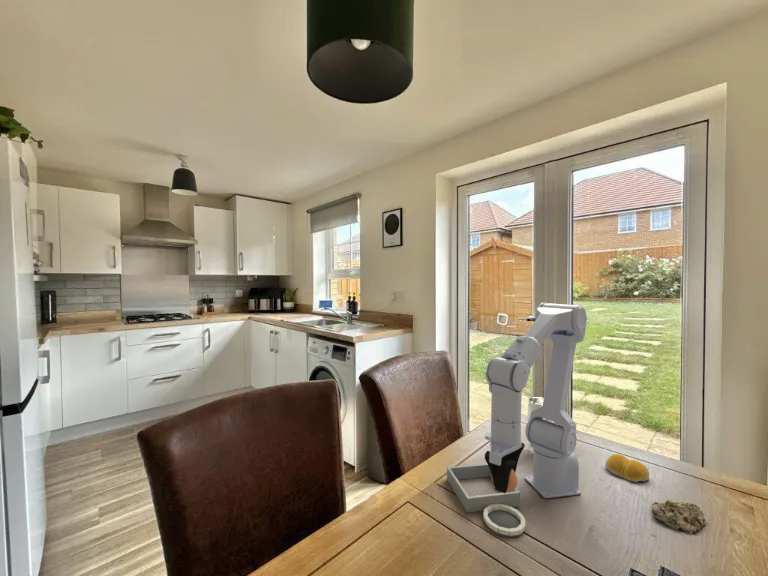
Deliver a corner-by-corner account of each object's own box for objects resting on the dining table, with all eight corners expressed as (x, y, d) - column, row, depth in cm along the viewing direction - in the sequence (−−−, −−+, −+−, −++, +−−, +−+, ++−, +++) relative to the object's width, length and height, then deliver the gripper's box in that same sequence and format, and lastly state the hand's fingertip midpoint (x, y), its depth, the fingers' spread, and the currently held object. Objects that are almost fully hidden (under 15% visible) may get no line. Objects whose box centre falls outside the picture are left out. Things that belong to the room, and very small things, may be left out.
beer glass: (558, 459, 95) (559, 405, 94) (532, 458, 95) (534, 405, 94) (546, 446, 102) (547, 396, 101) (523, 446, 102) (524, 396, 101)
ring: (511, 507, 75) (511, 502, 75) (533, 534, 67) (533, 528, 67) (476, 511, 73) (477, 506, 73) (495, 539, 65) (495, 533, 65)
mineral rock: (679, 527, 66) (644, 491, 74) (672, 543, 67) (638, 507, 75) (725, 523, 68) (686, 489, 75) (717, 540, 69) (680, 504, 77)
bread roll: (644, 488, 82) (645, 471, 82) (602, 471, 89) (602, 456, 89) (653, 475, 88) (653, 459, 88) (612, 460, 95) (613, 446, 94)
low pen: (492, 474, 87) (492, 462, 87) (519, 506, 75) (520, 492, 75) (446, 479, 85) (447, 467, 85) (467, 512, 73) (467, 498, 73)
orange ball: (508, 482, 73) (509, 458, 73) (522, 497, 68) (522, 472, 68) (486, 484, 72) (487, 460, 72) (498, 499, 67) (499, 474, 67)
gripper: (496, 402, 78) (495, 461, 78) (474, 425, 66) (472, 494, 66) (529, 409, 74) (528, 472, 74) (512, 435, 62) (510, 509, 62)
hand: (504, 483), depth 70 cm, fingers closed on orange ball, 5 cm apart
